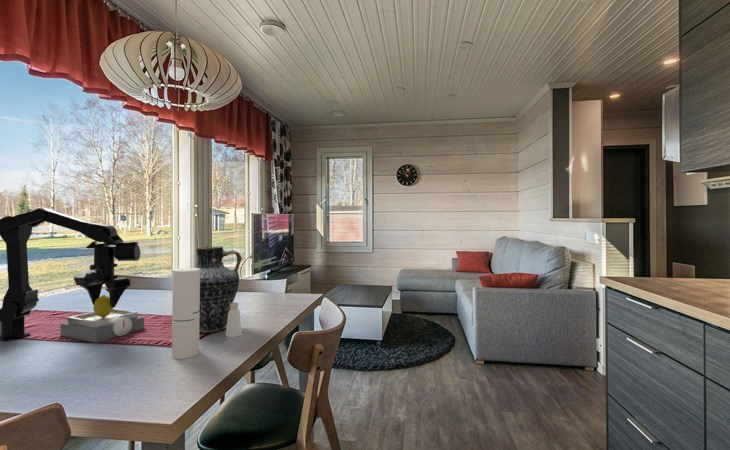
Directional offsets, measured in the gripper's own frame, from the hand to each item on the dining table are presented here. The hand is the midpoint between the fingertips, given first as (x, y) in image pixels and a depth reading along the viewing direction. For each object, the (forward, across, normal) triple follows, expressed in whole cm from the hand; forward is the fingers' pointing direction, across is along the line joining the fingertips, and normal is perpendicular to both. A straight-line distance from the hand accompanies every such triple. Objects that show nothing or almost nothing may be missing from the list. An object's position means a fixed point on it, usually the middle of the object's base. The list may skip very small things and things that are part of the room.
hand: (103, 306), depth 121 cm
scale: (+9, 0, 0) cm, 9 cm away
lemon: (+4, 0, 0) cm, 4 cm away
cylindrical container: (+9, +42, -4) cm, 43 cm away
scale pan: (+5, 0, 0) cm, 5 cm away
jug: (+9, +31, +17) cm, 37 cm away
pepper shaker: (+9, +43, +15) cm, 46 cm away
